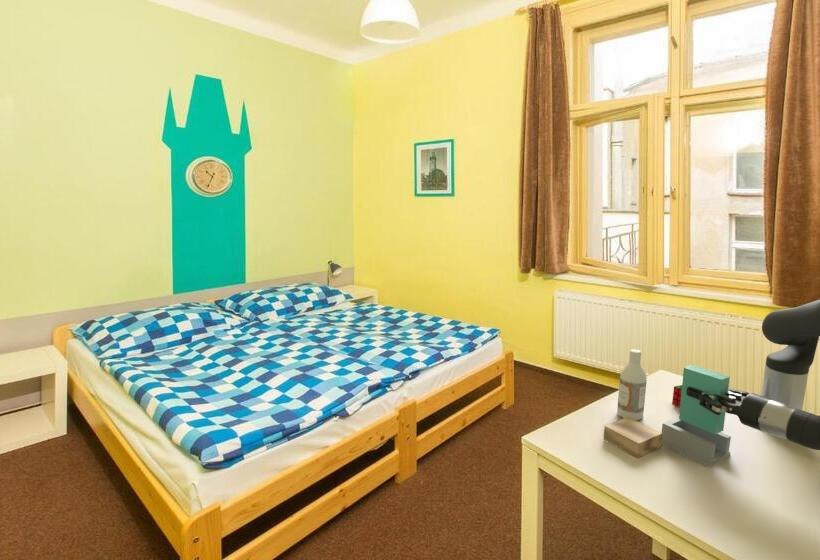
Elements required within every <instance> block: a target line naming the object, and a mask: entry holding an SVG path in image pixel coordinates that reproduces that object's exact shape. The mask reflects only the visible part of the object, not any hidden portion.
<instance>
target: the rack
mask: <svg viewBox="0 0 820 560" xmlns="http://www.w3.org/2000/svg"><path fill="white" fill-rule="evenodd" d="M661 425H662V426H661V433H662V441H661V446H664V447H665V448H667V449H669V450H670V451H673V452H675V453H677V454H680V455H681V456H684V457H685V458H687V459H690V460H691V461H693V462H695V463H697V464H699V465H701V466H703V467H705V468H707V469H708V468H709V467H711V466H713V465H715V464H717V463H718V462H721V461H722V460H725V459H726V458H728V457H730V456H731V451H730V445H731V438H732V437H731V435H728V434H726V433H724V432H723V431H721V432H719V433H717V434H713V433H711V432H708V431H706V430H704V429H701V428H699V427H696V426H694V425H692V424H689V423H687V422H684V421H682V420H680V419H679V416H677V417H675V418H671V419H670V420H667V421H665V422H662V424H661Z"/></svg>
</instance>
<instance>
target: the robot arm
mask: <svg viewBox="0 0 820 560" xmlns="http://www.w3.org/2000/svg"><path fill="white" fill-rule="evenodd" d="M761 332H762V334H763V336H764V337H765V338H766V339H767V340H768V341H769V342H771V343H773V344H774V345H775V344H776V345H779V346H780V345H781V346H785V347H784V348H782V349H780V350H777V351H774V352H771V353H769V354H767V356H766V360H765V365H764V372H763V379H762V385H761V393H760V394H757V393H754V392H753V393H752V392H751V393H750V392H748V391H745V390H739V389H734V388H730V387H728V392H727V394H728V395H722V394H721V395H719V394H716V393H714V394H710V393H707V392H703V391H701V390H698V389H695V388H692V387H688V388H687V391H686V394H687V395H688V396H690V397H693V398H696V399H698V400H700V402H699V405H701V406H702V407H704V408H706V409H707V410H709V411H711V412H712V413H714V414H716V415H721V412H724V411H725V414H729V415H735V416H737V418H738V420H739V422H740V423H741V424H742V425H743V426H747V427H749V428H752V429H754V430H757V431H760V432H763V433H765V434H768V435H771V436H773V437H775V438H779V439H783V440H787V441H789V442H792V443H794V444H797V445H800V446H802V447H805V448H808V449H811V450H815V451H820V415H817V414H815V413H812V412H808V411H806V410H803V408H804V402H805V395H806V390H807V383H808V377H809V372H810V368H811V366H812V365H813V363H814V361H815V356H816V352H817V347H818V343H819V339H820V299H817V300H814V301H812V302H811V301H810V302H808V303H805V304H802V305H799V306H796V307H791V308H786V309H778V310H773V311H770V312H769V313H767V315H766V316H765V317H764V318H763V321H762V323H761ZM709 397H711V398H712V399H711V398H709ZM717 397H718V398H719V399H718V402H716V400H717Z"/></svg>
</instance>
